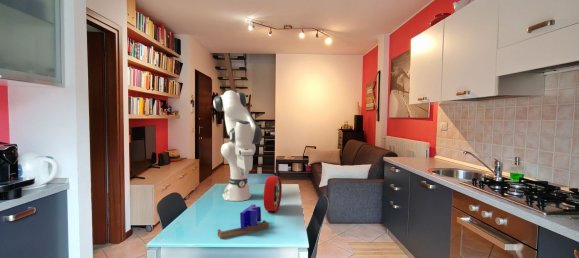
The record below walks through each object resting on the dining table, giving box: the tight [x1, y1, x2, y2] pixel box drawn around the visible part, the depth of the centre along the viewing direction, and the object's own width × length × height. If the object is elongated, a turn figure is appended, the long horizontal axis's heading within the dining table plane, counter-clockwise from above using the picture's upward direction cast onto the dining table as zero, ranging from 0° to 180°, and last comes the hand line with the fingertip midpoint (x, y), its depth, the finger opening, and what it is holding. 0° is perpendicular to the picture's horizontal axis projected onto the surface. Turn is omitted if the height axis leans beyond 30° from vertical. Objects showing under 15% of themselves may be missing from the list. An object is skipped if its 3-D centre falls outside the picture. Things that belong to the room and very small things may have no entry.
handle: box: [217, 220, 269, 240], centre depth 133 cm, size 4×24×4 cm, turn 122°
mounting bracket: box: [239, 203, 262, 229], centre depth 138 cm, size 18×7×6 cm
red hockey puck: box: [262, 175, 283, 212], centre depth 167 cm, size 20×6×20 cm, turn 168°
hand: (244, 176), depth 150 cm, fingers open, 8 cm apart
